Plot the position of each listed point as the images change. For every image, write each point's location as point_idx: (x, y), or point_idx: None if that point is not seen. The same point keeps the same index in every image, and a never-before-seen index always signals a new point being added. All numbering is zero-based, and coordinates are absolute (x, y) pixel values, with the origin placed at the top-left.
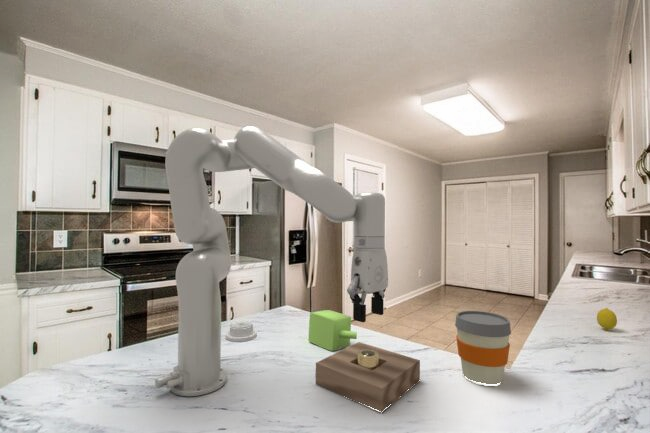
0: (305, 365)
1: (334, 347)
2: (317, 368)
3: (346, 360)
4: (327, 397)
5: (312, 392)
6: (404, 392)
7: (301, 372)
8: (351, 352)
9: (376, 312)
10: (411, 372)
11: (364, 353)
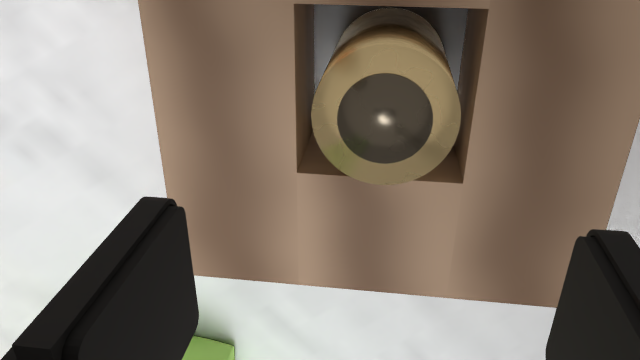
0: (424, 357)
1: (216, 351)
2: None
3: (454, 205)
4: (637, 140)
5: (628, 214)
6: None
7: (490, 337)
8: (335, 237)
9: (187, 273)
10: None
11: (409, 134)
